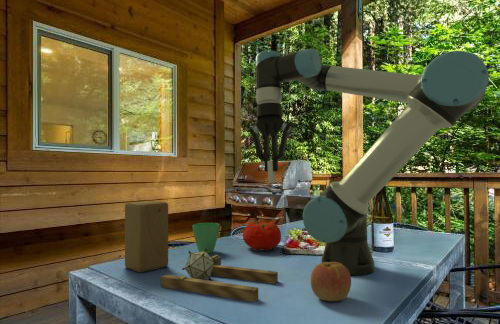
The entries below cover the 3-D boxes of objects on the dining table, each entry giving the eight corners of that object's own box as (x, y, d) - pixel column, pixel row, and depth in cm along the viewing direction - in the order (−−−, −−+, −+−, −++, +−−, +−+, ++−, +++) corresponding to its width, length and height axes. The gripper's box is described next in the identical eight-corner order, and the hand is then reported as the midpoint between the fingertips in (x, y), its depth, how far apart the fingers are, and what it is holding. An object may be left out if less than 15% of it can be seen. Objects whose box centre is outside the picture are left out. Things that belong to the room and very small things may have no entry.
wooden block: (169, 266, 101) (169, 201, 102) (139, 274, 94) (139, 204, 94) (152, 261, 108) (152, 200, 108) (123, 267, 100) (123, 202, 101)
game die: (205, 296, 86) (213, 271, 81) (175, 284, 86) (181, 259, 81) (215, 270, 94) (223, 246, 89) (187, 260, 94) (194, 235, 89)
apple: (357, 306, 69) (356, 267, 69) (316, 307, 68) (315, 269, 69) (342, 291, 78) (341, 257, 78) (306, 292, 77) (305, 258, 77)
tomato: (249, 255, 114) (249, 226, 114) (239, 245, 130) (239, 220, 130) (288, 252, 117) (287, 225, 118) (274, 243, 133) (273, 219, 133)
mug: (223, 253, 117) (223, 225, 117) (196, 256, 113) (196, 227, 113) (210, 245, 130) (210, 220, 130) (186, 248, 126) (186, 222, 126)
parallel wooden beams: (281, 278, 88) (281, 261, 88) (254, 302, 72) (254, 281, 72) (200, 267, 99) (200, 253, 99) (160, 286, 83) (160, 269, 83)
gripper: (293, 104, 99) (296, 182, 98) (253, 109, 104) (255, 183, 103) (287, 99, 92) (290, 182, 91) (244, 104, 97) (246, 183, 96)
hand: (271, 182), depth 97 cm, fingers closed
